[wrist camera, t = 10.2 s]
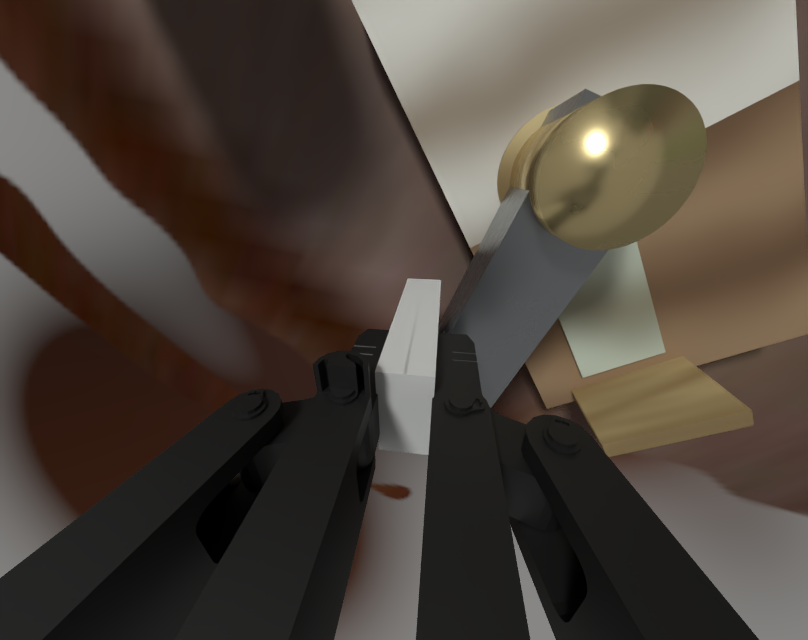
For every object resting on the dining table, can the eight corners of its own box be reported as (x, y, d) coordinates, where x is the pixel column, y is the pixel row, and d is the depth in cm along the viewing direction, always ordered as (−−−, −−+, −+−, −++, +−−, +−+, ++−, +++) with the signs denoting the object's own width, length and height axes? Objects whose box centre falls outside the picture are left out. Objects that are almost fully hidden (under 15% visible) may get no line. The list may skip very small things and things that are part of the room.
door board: (357, 6, 11) (286, -121, 6) (698, -313, 8) (1145, -1182, 3) (537, 385, 18) (570, 465, 13) (766, 312, 14) (930, 386, 9)
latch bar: (546, 96, 10) (602, 54, 6) (641, 141, 10) (748, 124, 6) (417, 353, 15) (407, 409, 11) (481, 379, 15) (490, 442, 12)
